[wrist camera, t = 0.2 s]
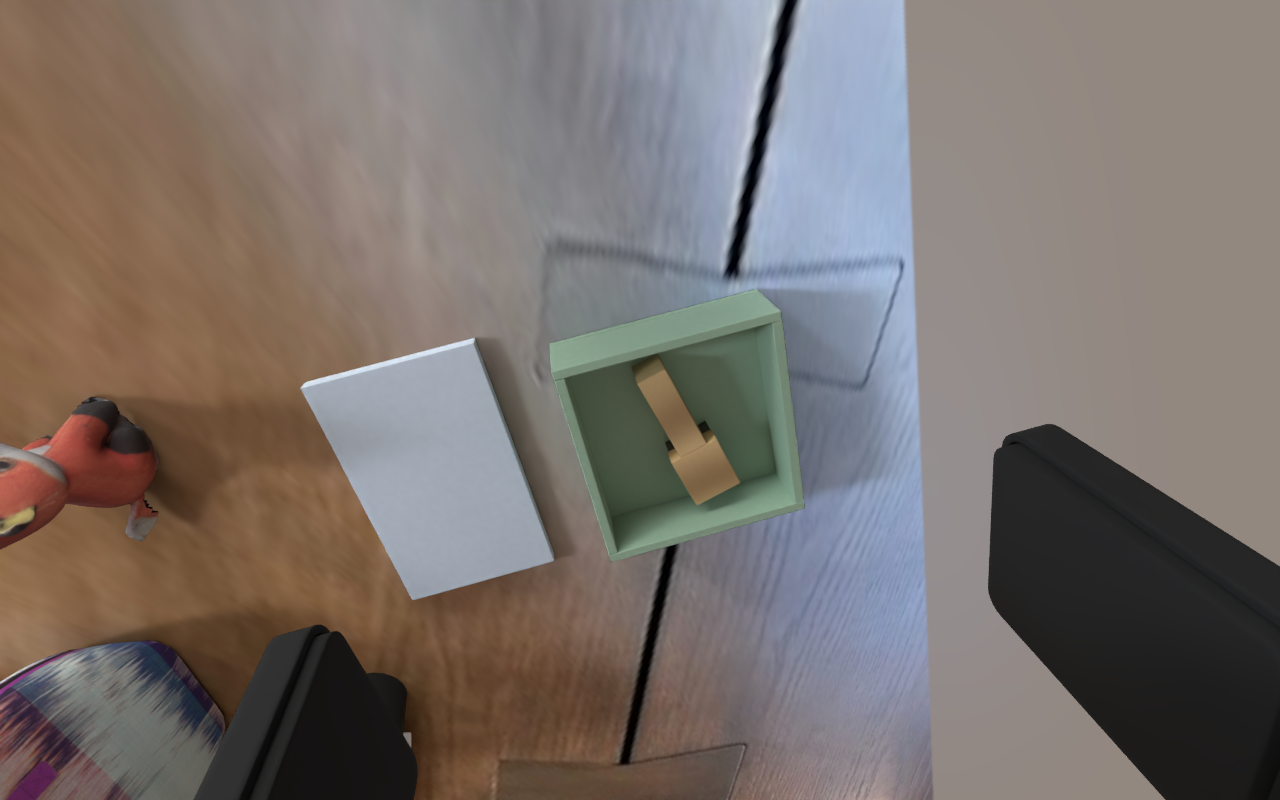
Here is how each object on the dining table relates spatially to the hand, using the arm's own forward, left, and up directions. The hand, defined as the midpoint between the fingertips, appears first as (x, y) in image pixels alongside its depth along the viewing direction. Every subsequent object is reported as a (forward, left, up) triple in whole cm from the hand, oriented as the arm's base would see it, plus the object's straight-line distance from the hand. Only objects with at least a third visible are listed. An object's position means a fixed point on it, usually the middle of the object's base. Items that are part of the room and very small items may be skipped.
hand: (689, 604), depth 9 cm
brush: (+17, +4, -36) cm, 40 cm away
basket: (+17, +4, -36) cm, 41 cm away
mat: (+17, -15, -36) cm, 43 cm away
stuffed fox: (+9, -35, -37) cm, 52 cm away
